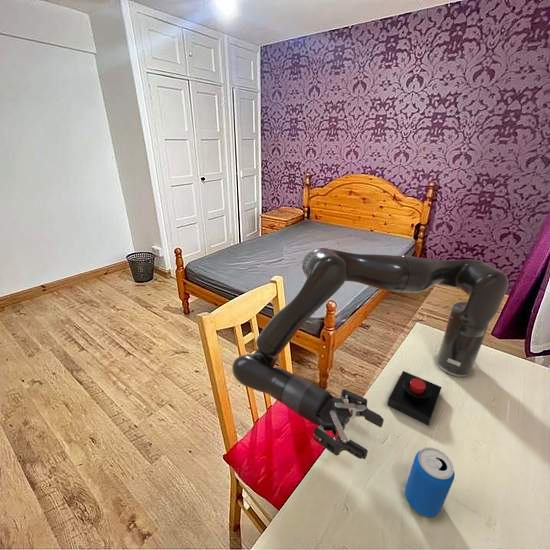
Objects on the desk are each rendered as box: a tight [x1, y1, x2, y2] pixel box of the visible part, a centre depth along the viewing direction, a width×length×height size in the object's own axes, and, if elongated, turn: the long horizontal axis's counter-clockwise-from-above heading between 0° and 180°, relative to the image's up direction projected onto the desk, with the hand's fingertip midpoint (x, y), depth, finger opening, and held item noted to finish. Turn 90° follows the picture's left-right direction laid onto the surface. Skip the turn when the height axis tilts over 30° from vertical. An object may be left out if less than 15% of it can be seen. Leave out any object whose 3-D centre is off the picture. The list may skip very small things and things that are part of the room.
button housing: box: [387, 370, 442, 427], centre depth 80 cm, size 10×12×4 cm
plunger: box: [409, 378, 426, 394], centre depth 79 cm, size 4×4×2 cm
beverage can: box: [404, 446, 455, 518], centre depth 57 cm, size 6×6×12 cm
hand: (375, 438), depth 61 cm, fingers open, 8 cm apart
